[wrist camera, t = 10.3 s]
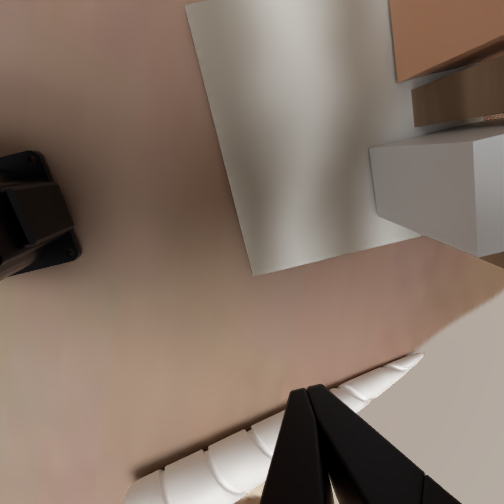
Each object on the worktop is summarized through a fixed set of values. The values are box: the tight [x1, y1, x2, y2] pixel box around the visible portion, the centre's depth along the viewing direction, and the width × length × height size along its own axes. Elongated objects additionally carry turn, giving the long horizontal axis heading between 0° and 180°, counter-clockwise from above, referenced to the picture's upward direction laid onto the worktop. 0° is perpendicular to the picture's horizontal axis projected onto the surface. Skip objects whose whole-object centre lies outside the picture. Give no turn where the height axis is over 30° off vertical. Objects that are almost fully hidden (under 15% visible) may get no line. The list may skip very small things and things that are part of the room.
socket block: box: [184, 0, 504, 277], centre depth 14 cm, size 15×15×11 cm
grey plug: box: [369, 118, 504, 258], centre depth 15 cm, size 6×4×8 cm, turn 103°
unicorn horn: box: [124, 353, 424, 504], centre depth 23 cm, size 5×24×5 cm, turn 117°
